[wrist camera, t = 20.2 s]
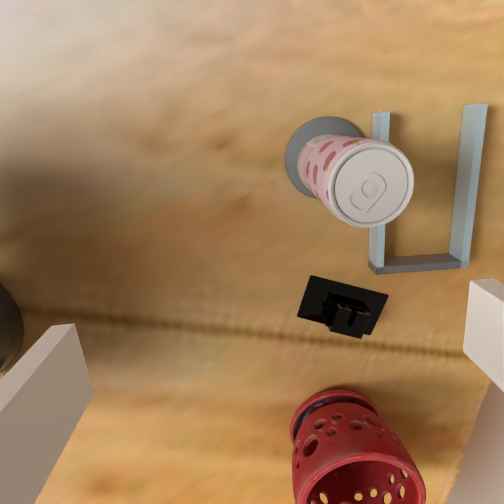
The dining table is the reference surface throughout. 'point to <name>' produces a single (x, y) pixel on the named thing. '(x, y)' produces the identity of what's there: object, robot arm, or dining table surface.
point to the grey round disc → (305, 135)
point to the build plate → (341, 306)
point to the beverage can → (357, 178)
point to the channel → (462, 201)
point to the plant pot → (349, 453)
